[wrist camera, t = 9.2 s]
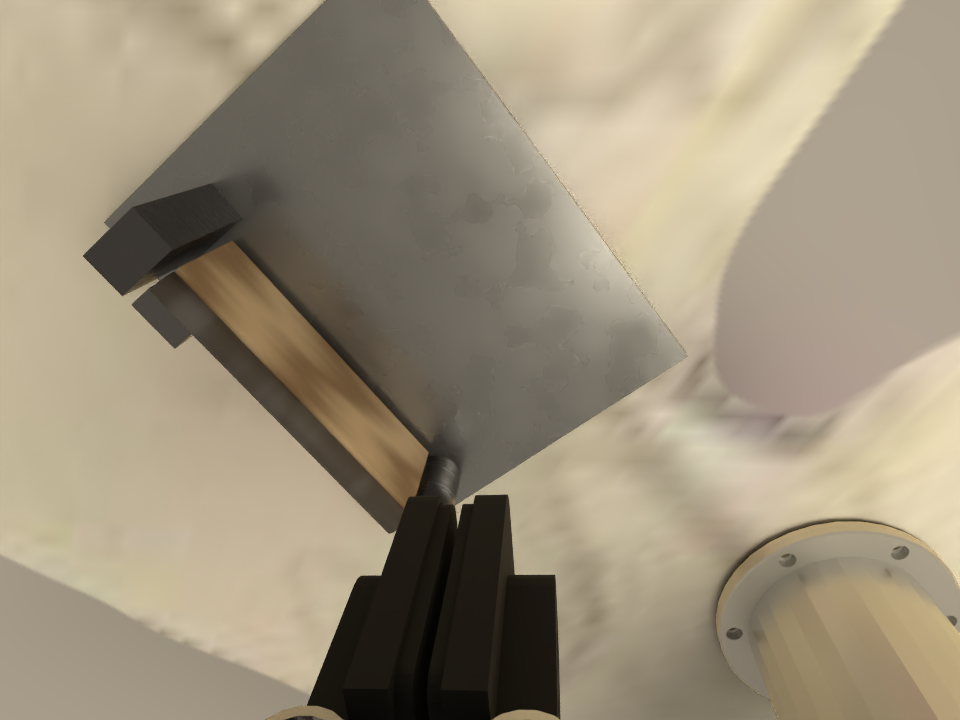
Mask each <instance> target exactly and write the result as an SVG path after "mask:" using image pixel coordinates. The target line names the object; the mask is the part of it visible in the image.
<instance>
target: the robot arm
mask: <svg viewBox="0 0 960 720" xmlns="http://www.w3.org/2000/svg"><path fill="white" fill-rule="evenodd" d="M716 629H717V636H718V639H719V642H720V645H721V649H722V652H723V655H724V657H725V659H726V661H727V663H728V665H729V667H730V668H731V670H732V671H733V672H734V673H735V674H736V675H737V677H738V678H739V679H740V680H741V681H742V682H743V683H744V684H746V685H747V686H748V687H749V688H751V689H752V690H753V691H755V692H756V693H758V694H760V695H762V696H764V697H766V698H768V699H769V700H771V702H772V705H773V707H774V710H775V713H776V715H777V718H778V720H960V634H959V633H960V587H959V585H958V583H957V581H956V579H955V577H954V575H953V573H952V572H951V571H950V570H949V568H948V567H947V566H946V565H945V563H944V562H943V561H942V560H941V559H940V557H939V556H938V555H937V554H936V553H935V552H934V551H932V550H931V549H930V548H929V547H928V546H927V545H926V544H925V543H923V542H922V541H920V540H918V539H916V538H915V537H913V536H911V535H909V534H908V533H906V532H903V531H900V530H897V529H894V528H891V527H888V526H885V525H880V524H874V523H867V522H831V523H824V524H818V525H812V526H809V527H806V528H802V529H799V530H796V531H792V532H790V533H788V534H785V535H783V536H781V537H779V538H777V539H775V540H773V541H771V542H769V543H767V544H766V545H764V546H763V547H762V548H760V549H759V550H757V551H756V552H754V553H753V554H751V555H750V556H749V557H748V558H747V559H746V560H745V561H744V562H743V563H742V564H741V565H740V566H739V567H738V568H737V569H736V570H735V572H734V573H733V575H732V576H731V577H730V579H729V580H728V582H727V583H726V585H725V587H724V589H723V592H722V594H721V596H720V599H719V601H718V607H717V613H716ZM265 720H560V684H559V646H558V620H557V598H556V579H555V575H515V574H514V560H513V547H512V533H511V520H510V506H509V498H508V495H476V496H475V499H474V504H463V506H462V510H461V515H460V520H459V525H458V528H457V519H456V511H455V506H454V504H446V505H444V501H443V498H442V496H410V497H409V498H408V500H407V502H406V505H405V508H404V511H403V514H402V517H401V519H400V522H399V525H398V528H397V531H396V534H395V537H394V540H393V543H392V546H391V549H390V551H389V554H388V557H387V560H386V563H385V566H384V569H383V572H382V575H381V576H360V577H359V578H358V579H357V581H356V583H355V584H354V587H353V589H352V592H351V594H350V597H349V600H348V602H347V605H346V607H345V610H344V612H343V615H342V617H341V620H340V622H339V625H338V628H337V630H336V633H335V635H334V638H333V640H332V643H331V645H330V648H329V650H328V653H327V656H326V658H325V661H324V663H323V666H322V668H321V671H320V673H319V676H318V678H317V681H316V684H315V686H314V689H313V691H312V694H311V696H310V699H309V701H308V704H307V706H298V707H294V708H290V709H286V710H283V711H281V712H279V713H277V714H275V715H273V716H271V717H269V718H267V719H265Z"/></svg>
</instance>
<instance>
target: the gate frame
mask: <svg viewBox="0 0 960 720" xmlns="http://www.w3.org/2000/svg"><path fill="white" fill-rule="evenodd" d="M104 223H105V224H106V225H107V226H108V227H109V228H110V229H109V230H108V231H107V232H106V233H105V234H104V235H103V236H102V237H101V238H100V239H99V240H98V241H97V242H96V243H95V244H94V245H93V246H92V247H91V248H90V249H89V250H88V251H87V252H86V253H85V254H84V255H83V257H84V258H85V259H86V260H87V261H88V262H89V263H90V264H91V265H92V266H93V267H94V268H95V269H96V270H97V271H98V272H99V273H100V274H101V275H102V276H103V277H104V278H105V279H106V280H107V281H108V282H109V283H110V284H111V285H112V286H113V287H114V288H115V289H116V290H117V291H118V292H119V293H120V294H121V295H122V296H124V295H126V294H128V293H130V292H132V291H134V290H136V289H138V288H140V287H142V286H143V285H145V284H147V283H149V282H151V281H153V280H155V279H157V278H158V279H159V280H161V279H163V278H164V277H165V276H167V275H168V274H170V273H172V272H175V271H176V270H177V269H178V268H179V267H181V266H183V265H185V264H187V263H189V262H191V261H193V260H195V259H197V258H199V257H201V256H203V255H205V254H207V253H209V252H211V251H213V250H215V249H217V248H219V247H221V246H223V245H225V244H227V243H229V242H231V241H234V243H235V244H236V245H237V246H238V247H239V248H240V249H241V250H242V251H243V252H244V253H245V254H246V256H247V257H248V258H249V259H250V260H251V261H252V262H253V263H254V264H255V265H256V266H257V267H258V269H259V270H260V271H261V272H262V273H263V274H264V275H265V276H266V277H267V278H268V279H269V280H270V281H271V283H272V284H273V285H274V286H275V287H276V288H277V289H278V290H279V291H280V292H281V293H282V294H283V296H284V297H285V298H286V299H287V300H288V301H289V302H290V303H291V304H292V305H293V306H294V307H295V309H296V310H297V311H298V312H299V313H300V314H301V315H302V316H303V317H304V318H305V319H306V320H307V322H308V323H309V324H310V325H311V326H312V327H313V328H314V329H315V330H316V331H317V332H318V333H319V335H320V336H321V337H322V338H323V339H324V340H325V341H326V342H327V343H328V344H329V345H330V346H331V347H332V349H333V350H334V351H335V352H336V353H337V354H338V355H339V356H340V357H341V358H342V359H343V360H344V362H345V363H346V364H347V365H348V366H349V367H350V368H351V369H352V370H353V371H354V372H355V373H356V375H357V376H358V377H359V378H360V379H361V380H362V381H363V382H364V383H365V384H366V385H367V386H368V388H369V389H370V390H371V391H372V392H373V393H374V394H375V395H376V396H377V397H378V398H379V399H380V401H381V402H382V403H383V404H384V405H385V406H386V407H387V408H388V409H389V410H390V411H391V412H392V413H393V415H394V416H395V417H396V418H397V419H398V420H399V421H400V422H401V423H402V424H403V425H404V426H405V428H406V429H407V430H408V431H409V432H410V433H411V434H412V435H413V436H414V437H415V438H416V439H417V441H418V442H419V443H420V444H421V445H422V446H423V447H424V448H425V449H426V450H427V451H428V452H429V453H428V457H427V460H426V464H425V467H424V470H423V474H422V477H421V481H420V484H419V487H418V491H417V494H416V496H442V498H443V501H444V505H446V504H454V506H455V505H456V504H458V503H460V502H461V501H463V500H464V499H466V498H467V497H469V496H470V495H472V494H474V493H475V492H477V491H478V490H480V489H481V488H483V487H485V486H486V485H488V484H489V483H491V482H492V481H494V480H495V479H497V478H499V477H500V476H502V475H503V474H505V473H506V472H508V471H510V470H511V469H513V468H514V467H516V466H517V465H519V464H520V463H522V462H524V461H525V460H527V459H528V458H530V457H531V456H533V455H535V454H536V453H538V452H539V451H541V450H542V449H544V448H545V447H547V446H549V445H550V444H552V443H553V442H555V441H556V440H558V439H560V438H561V437H563V436H564V435H566V434H567V433H569V432H571V431H572V430H574V429H575V428H577V427H578V426H580V425H581V424H583V423H585V422H586V421H588V420H589V419H591V418H592V417H594V416H596V415H597V414H599V413H600V412H602V411H603V410H605V409H606V408H608V407H610V406H611V405H613V404H614V403H616V402H617V401H619V400H621V399H622V398H624V397H625V396H627V395H628V394H630V393H631V392H633V391H635V390H636V389H638V388H639V387H641V386H642V385H644V384H646V383H647V382H649V381H650V380H652V379H653V378H655V377H657V376H658V375H660V374H661V373H663V372H664V371H666V370H667V369H669V368H671V367H672V366H674V365H675V364H677V363H678V362H680V361H682V360H683V359H685V358H686V357H688V356H687V354H686V352H685V351H684V349H683V348H682V347H681V345H680V344H679V343H678V341H677V340H676V338H675V337H674V336H673V334H672V333H671V332H670V330H669V329H668V328H667V326H666V325H665V323H664V322H663V321H662V319H661V318H660V317H659V315H658V314H657V313H656V311H655V310H654V308H653V307H652V306H651V304H650V303H649V302H648V300H647V299H646V298H645V296H644V295H643V293H642V292H641V291H640V289H639V288H638V287H637V285H636V284H635V283H634V281H633V280H632V278H631V277H630V276H629V274H628V273H627V272H626V270H625V269H624V267H623V266H622V265H621V263H620V262H619V261H618V259H617V258H616V257H615V255H614V254H613V252H612V251H611V250H610V248H609V247H608V246H607V244H606V243H605V242H604V240H603V239H602V237H601V236H600V235H599V233H598V232H597V231H596V229H595V228H594V227H593V225H592V224H591V222H590V221H589V220H588V218H587V217H586V216H585V214H584V213H583V212H582V210H581V209H580V207H579V206H578V205H577V203H576V202H575V201H574V199H573V198H572V197H571V195H570V194H569V192H568V191H567V190H566V188H565V187H564V186H563V184H562V183H561V182H560V180H559V179H558V177H557V176H556V175H555V173H554V172H553V171H552V169H551V168H550V167H549V165H548V164H547V162H546V161H545V160H544V158H543V157H542V156H541V154H540V153H539V152H538V150H537V149H536V147H535V146H534V145H533V143H532V142H531V141H530V139H529V138H528V137H527V135H526V134H525V132H524V131H523V130H522V128H521V127H520V126H519V124H518V123H517V122H516V120H515V119H514V117H513V116H512V115H511V113H510V112H509V111H508V109H507V108H506V106H505V105H504V104H503V102H502V101H501V100H500V98H499V97H498V96H497V94H496V93H495V91H494V90H493V89H492V87H491V86H490V85H489V83H488V82H487V81H486V79H485V78H484V76H483V75H482V74H481V72H480V71H479V70H478V68H477V67H476V66H475V64H474V63H473V61H472V60H471V59H470V57H469V56H468V55H467V53H466V52H465V51H464V49H463V48H462V46H461V45H460V44H459V42H458V41H457V40H456V38H455V37H454V36H453V34H452V33H451V31H450V30H449V29H448V27H447V26H446V25H445V23H444V22H443V21H442V19H441V18H440V16H439V15H438V14H437V12H436V11H435V10H434V8H433V7H432V6H431V4H430V3H429V1H428V0H326V1H325V2H324V3H323V4H322V5H321V6H320V7H319V8H318V9H317V10H316V11H315V12H314V13H313V14H312V15H311V16H310V17H309V18H308V19H307V20H306V21H305V22H304V23H303V24H302V25H301V26H300V27H299V28H298V29H297V30H296V31H295V32H294V33H293V34H292V35H291V36H290V37H289V38H288V39H287V40H286V41H285V42H284V43H283V44H282V45H281V46H280V47H279V48H278V49H277V50H276V51H275V52H274V53H273V54H272V55H271V56H270V57H269V58H268V59H267V60H266V61H265V62H264V63H263V64H262V65H261V66H260V67H259V68H258V69H257V70H256V71H255V72H254V73H253V74H252V75H251V76H250V77H249V78H248V79H247V80H246V81H245V82H244V83H243V84H242V85H241V86H240V87H239V88H238V89H237V90H236V91H235V92H234V93H233V94H232V95H231V96H230V97H229V98H228V99H227V100H226V101H225V102H224V103H223V104H222V105H221V106H220V107H219V108H218V109H217V110H216V111H215V112H214V113H213V114H212V115H211V116H210V117H209V118H208V119H207V120H206V121H205V122H204V123H203V124H202V125H201V126H200V127H199V128H198V129H197V130H196V131H195V132H194V133H193V134H192V135H191V136H190V137H189V138H188V139H187V140H186V141H185V142H184V143H183V144H182V145H181V146H180V147H179V148H178V149H177V150H176V151H175V152H174V153H173V154H172V155H171V156H170V157H169V158H168V159H167V160H166V161H165V162H164V163H163V164H162V165H161V166H160V167H159V168H158V169H157V170H156V171H155V172H154V173H153V174H152V175H151V176H150V177H149V178H148V179H147V180H146V181H145V182H144V183H143V184H142V185H141V186H140V187H139V188H138V189H137V190H136V191H135V192H134V193H133V194H132V195H131V196H130V197H129V198H128V199H127V200H126V201H125V202H124V203H123V204H122V205H121V206H120V207H119V208H118V209H117V210H116V211H115V212H114V213H113V214H112V215H111V216H110V217H109V218H108V219H107V220H106V221H105V222H104ZM152 287H153V286H152ZM152 287H150V288H149V289H148V290H147V291H146V292H145V293H144V294H142V295H141V296H140V297H139V298H138V299H137V300H136V301H135V302H134V303H133V304H132V306H133V307H134V308H135V309H136V310H137V311H138V312H139V313H140V314H141V315H142V316H143V317H144V318H145V319H146V320H147V321H148V322H149V323H150V324H151V325H152V326H153V327H154V328H155V329H156V330H157V331H158V332H159V333H160V334H161V335H162V336H163V337H164V338H165V339H166V340H167V341H168V342H169V343H170V344H171V345H172V346H173V347H174V348H177V347H178V346H179V345H181V344H182V343H184V342H185V341H186V340H188V339H189V338H191V337H192V336H193V335H192V334H191V333H190V332H189V331H188V330H187V329H186V328H185V327H184V326H183V325H182V324H181V323H180V322H179V321H178V320H177V319H176V318H175V317H174V316H173V315H172V313H171V312H170V311H169V310H168V309H167V308H166V307H165V306H164V305H163V304H162V303H161V302H160V301H159V300H158V299H157V298H156V297H155V296H154V295H153V294H152V293H151V292H150V290H151V288H152Z"/></svg>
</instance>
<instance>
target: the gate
mask: <svg viewBox="0 0 960 720" xmlns="http://www.w3.org/2000/svg"><path fill="white" fill-rule="evenodd" d="M150 292H151V293H152V294H153V295H154V296H155V297H156V298H157V299H158V300H159V301H160V302H161V303H162V304H163V305H164V306H165V307H166V308H167V309H168V310H169V311H170V312H171V313H172V315H173V316H174V317H175V318H176V319H177V320H178V321H179V322H180V323H181V324H182V325H183V326H184V327H185V328H186V329H187V330H188V331H189V332H190V333H191V334H192V335H193V336H194V337H195V338H196V339H197V340H198V341H199V342H200V343H201V344H202V345H203V346H204V347H205V348H206V349H207V350H208V351H209V352H210V353H211V354H212V355H213V356H214V357H215V358H216V359H217V360H218V361H219V362H220V363H221V364H222V365H223V366H224V367H225V368H226V369H227V370H228V371H229V372H230V373H231V374H232V375H233V376H234V377H235V378H236V379H237V380H238V381H239V382H240V383H241V384H242V385H243V386H244V387H245V388H246V389H247V390H248V392H249V393H250V394H251V395H252V396H253V397H254V398H255V399H256V400H257V401H258V402H259V403H260V404H261V405H262V406H263V407H264V408H265V409H266V410H267V411H268V412H269V413H270V414H271V415H272V416H273V417H274V418H275V419H276V420H277V421H278V422H279V423H280V424H281V425H282V426H283V427H284V428H285V429H286V430H287V431H288V432H289V433H290V434H291V435H292V436H293V437H294V438H295V439H296V440H297V441H298V442H299V443H300V444H301V445H302V446H303V447H304V448H305V449H306V450H307V451H308V452H309V453H310V454H311V455H312V456H313V457H314V458H315V459H316V460H317V461H318V462H319V463H320V464H321V465H322V466H323V467H324V469H325V470H326V471H327V472H328V473H329V474H330V475H331V476H332V477H333V478H334V479H335V480H336V481H337V482H338V483H339V484H340V485H341V486H342V487H343V488H344V489H345V490H346V491H347V492H348V493H349V494H350V495H351V496H352V497H353V498H354V499H355V500H356V501H357V502H358V503H359V504H360V505H361V506H362V507H363V508H364V509H365V510H366V511H367V512H368V513H369V514H370V515H371V516H372V517H373V518H374V519H375V520H376V521H377V522H378V523H379V524H380V525H381V526H382V527H383V528H384V529H385V530H386V531H387V532H388V533H393V532H395V531H396V530H397V528H398V525H399V522H400V519H401V517H402V514H403V511H404V508H405V505H406V502H407V500H408V498H409V497H410V496H416V494H417V491H418V487H419V484H420V481H421V477H422V474H423V470H424V467H425V464H426V460H427V457H428V453H429V452H428V451H427V450H426V449H425V448H424V447H423V446H422V445H421V444H420V443H419V442H418V441H417V439H416V438H415V437H414V436H413V435H412V434H411V433H410V432H409V431H408V430H407V429H406V428H405V426H404V425H403V424H402V423H401V422H400V421H399V420H398V419H397V418H396V417H395V416H394V415H393V413H392V412H391V411H390V410H389V409H388V408H387V407H386V406H385V405H384V404H383V403H382V402H381V401H380V399H379V398H378V397H377V396H376V395H375V394H374V393H373V392H372V391H371V390H370V389H369V388H368V386H367V385H366V384H365V383H364V382H363V381H362V380H361V379H360V378H359V377H358V376H357V375H356V373H355V372H354V371H353V370H352V369H351V368H350V367H349V366H348V365H347V364H346V363H345V362H344V360H343V359H342V358H341V357H340V356H339V355H338V354H337V353H336V352H335V351H334V350H333V349H332V347H331V346H330V345H329V344H328V343H327V342H326V341H325V340H324V339H323V338H322V337H321V336H320V335H319V333H318V332H317V331H316V330H315V329H314V328H313V327H312V326H311V325H310V324H309V323H308V322H307V320H306V319H305V318H304V317H303V316H302V315H301V314H300V313H299V312H298V311H297V310H296V309H295V307H294V306H293V305H292V304H291V303H290V302H289V301H288V300H287V299H286V298H285V297H284V296H283V294H282V293H281V292H280V291H279V290H278V289H277V288H276V287H275V286H274V285H273V284H272V283H271V281H270V280H269V279H268V278H267V277H266V276H265V275H264V274H263V273H262V272H261V271H260V270H259V269H258V267H257V266H256V265H255V264H254V263H253V262H252V261H251V260H250V259H249V258H248V257H247V256H246V254H245V253H244V252H243V251H242V250H241V249H240V248H239V247H238V246H237V245H236V244H235V243H234V241H231V242H229V243H227V244H225V245H223V246H221V247H219V248H217V249H215V250H213V251H211V252H209V253H207V254H205V255H203V256H201V257H199V258H197V259H195V260H193V261H191V262H189V263H187V264H185V265H183V266H181V267H179V268H178V269H177V270H176V271H175V272H172V273H170V274H168V275H167V276H165V277H164V278H163V279H161V280H160V281H159V282H158V283H157V284H155V285H154V286H153V287H152V288H151V290H150Z"/></svg>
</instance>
